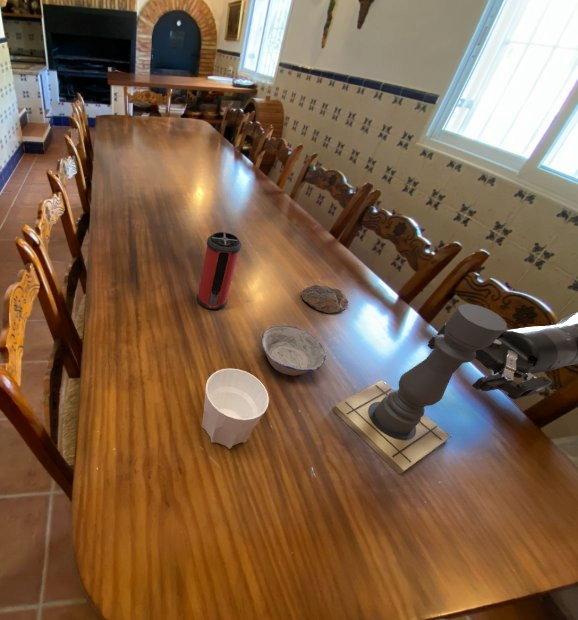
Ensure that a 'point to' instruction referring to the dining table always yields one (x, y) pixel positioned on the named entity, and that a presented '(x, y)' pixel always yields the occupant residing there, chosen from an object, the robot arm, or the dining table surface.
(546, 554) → the dining table surface
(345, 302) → the rock
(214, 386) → the cup
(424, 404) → the candle holder
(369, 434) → the board
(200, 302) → the speaker
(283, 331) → the bowl
